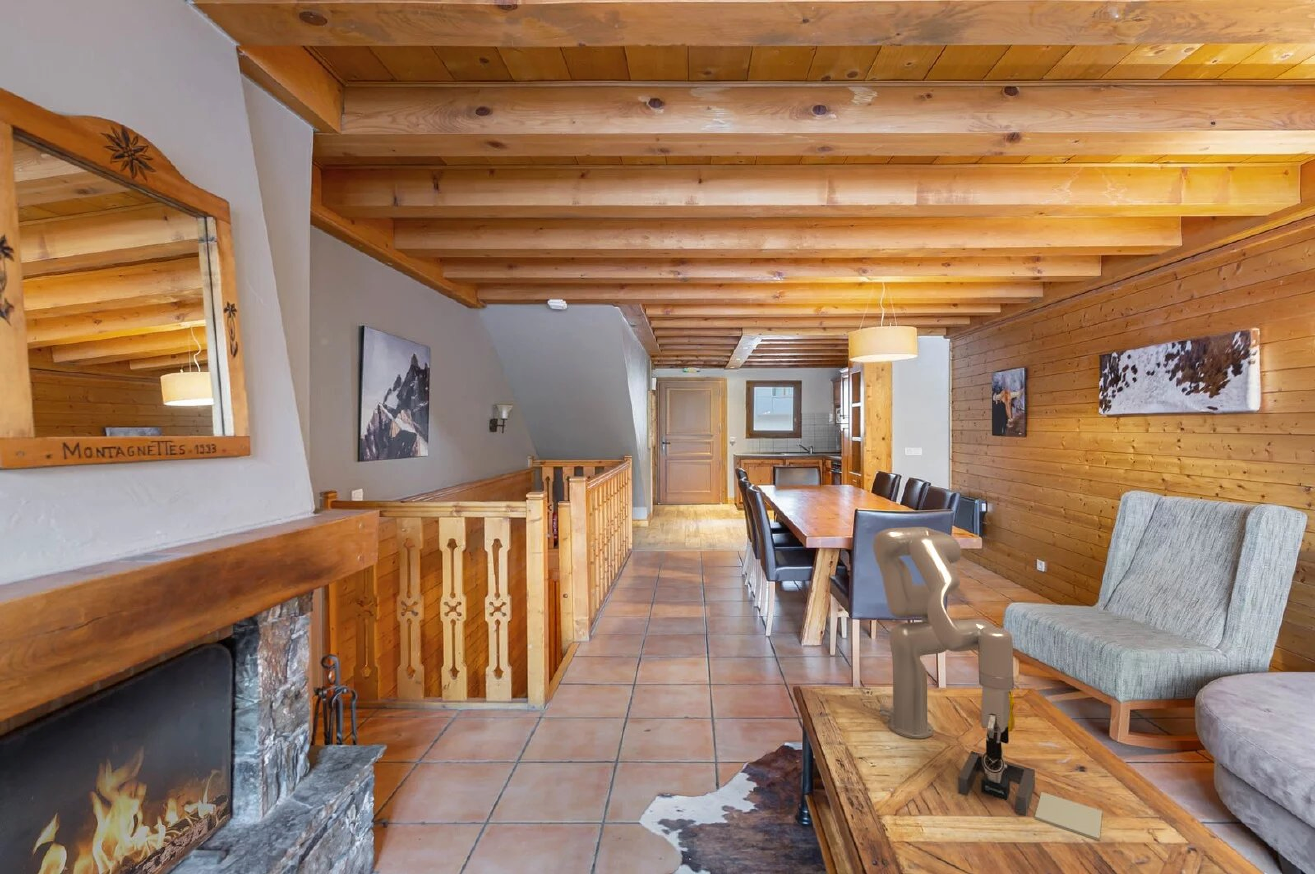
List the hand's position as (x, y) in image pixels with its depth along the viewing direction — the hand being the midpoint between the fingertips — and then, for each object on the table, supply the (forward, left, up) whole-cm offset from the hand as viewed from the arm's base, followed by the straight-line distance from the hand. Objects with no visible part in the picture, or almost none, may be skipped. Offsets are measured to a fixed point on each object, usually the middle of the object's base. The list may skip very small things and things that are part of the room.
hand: (997, 749), depth 148 cm
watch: (-1, 0, -11) cm, 11 cm away
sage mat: (+14, 0, -11) cm, 18 cm away
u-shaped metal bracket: (-1, +2, -11) cm, 11 cm away
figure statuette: (-6, +39, -11) cm, 41 cm away
